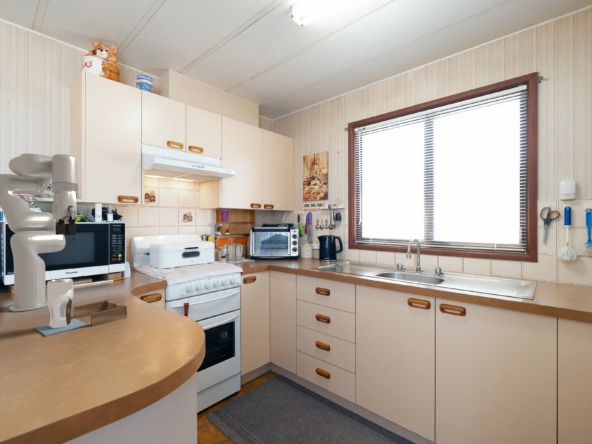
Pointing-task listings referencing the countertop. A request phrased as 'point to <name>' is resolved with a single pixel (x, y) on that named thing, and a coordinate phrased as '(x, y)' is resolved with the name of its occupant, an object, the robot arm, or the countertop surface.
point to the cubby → (101, 311)
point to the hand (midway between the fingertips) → (65, 234)
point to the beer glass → (60, 302)
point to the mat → (47, 331)
